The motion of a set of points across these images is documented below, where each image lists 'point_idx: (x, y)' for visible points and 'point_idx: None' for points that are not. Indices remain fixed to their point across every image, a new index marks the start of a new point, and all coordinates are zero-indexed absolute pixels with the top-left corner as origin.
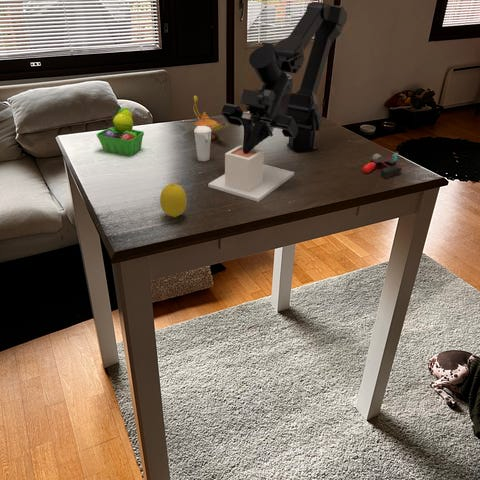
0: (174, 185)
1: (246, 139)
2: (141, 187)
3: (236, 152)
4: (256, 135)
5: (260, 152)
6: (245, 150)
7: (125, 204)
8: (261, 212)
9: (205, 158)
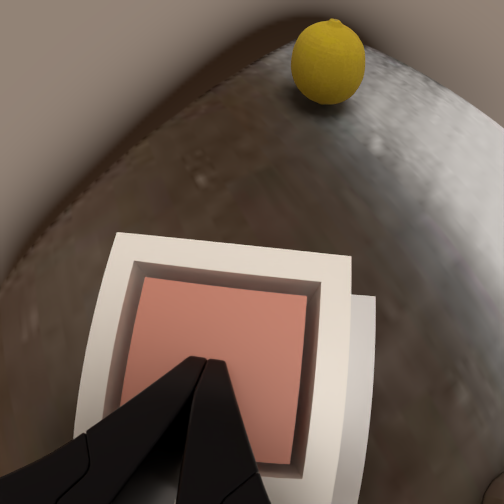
0: (327, 22)
1: (195, 436)
2: (500, 200)
3: (292, 361)
4: (39, 469)
5: (81, 417)
6: (191, 357)
7: (449, 121)
8: (101, 213)
9: (495, 489)
